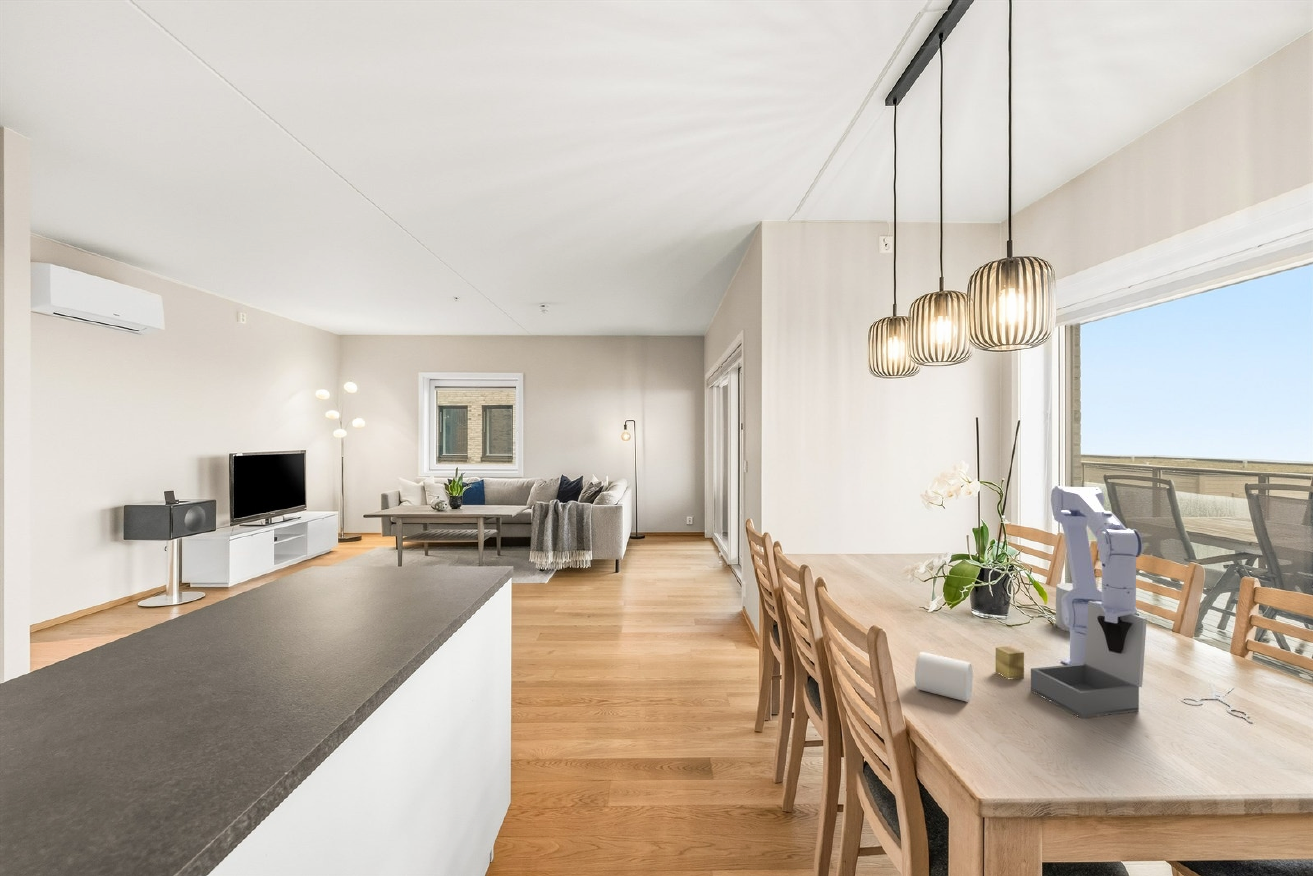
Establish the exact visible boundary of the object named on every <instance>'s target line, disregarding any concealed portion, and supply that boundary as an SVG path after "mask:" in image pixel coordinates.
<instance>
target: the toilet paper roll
mask: <svg viewBox="0 0 1313 876" xmlns="http://www.w3.org/2000/svg"><path fill="white" fill-rule="evenodd" d="M1055 589H1056V590H1055V624H1056V627H1058V628H1059V629H1061V630H1063V631H1066V632H1069V633H1070V628H1069V627H1067V626H1066V625H1065V624H1064V622H1063V619H1062V613H1061V608H1062V602H1061V599H1062V597H1063V595H1064V594H1065V593H1067V592H1069V591H1070V590H1072V589H1073V585H1072V582H1062V583H1057V584H1056V588H1055ZM1097 589H1098V590H1099V591H1101V592H1102V587H1098V586H1097Z"/></svg>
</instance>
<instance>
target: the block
mask: <svg viewBox="0 0 1313 876" xmlns="http://www.w3.org/2000/svg"><path fill="white" fill-rule="evenodd" d="M996 672H997V673H996ZM995 673H996V674H998V673H1000V674H1002V675H1003V676H1004V678H1005V677H1006V678H1005V679H1007V678H1020V679H1025V652H1024V651H1022V650H1020V649H1017V648H1015V647H1013V646H1012V645H1011V646H1010V645H1006V646H995ZM1003 676H1002V677H1003Z"/></svg>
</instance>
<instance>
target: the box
mask: <svg viewBox="0 0 1313 876" xmlns="http://www.w3.org/2000/svg"><path fill="white" fill-rule="evenodd" d="M1031 691H1033V692H1035V693H1037V694H1038V696H1039V695H1040V696H1039V697H1041V696H1043V697H1045V698H1046V699H1047V700H1046V699H1045V700H1046V701H1048V700H1051V701H1052V702H1053V703H1052V702H1051V703H1052V704H1054V703H1055V704H1056V705H1055V704H1054V705H1055V706H1057V705H1059V706H1061V707H1062V709H1063V708H1064V709H1063V710H1065V711H1067V710H1068V711H1070V712H1071V713H1070V712H1069V713H1070V714H1072V713H1073V714H1072V715H1074V714H1076V715H1078V716H1079V717H1078V716H1077V717H1078V718H1080V719H1084V718H1083V717H1087V718H1092V717H1091V716H1095V717H1098V716H1097V715H1104V716H1107V715H1106V714H1112V715H1119V714H1118V713H1121V714H1126V713H1128V712H1129V713H1135V711H1138V712H1140V705H1139V704H1140V703H1139V702H1140V687H1138V686H1135V685H1133V684H1131V683H1129V682H1126V681H1124V680H1122V679H1119V678H1117V677H1115V676H1112V675H1110V674H1108V673H1105V672H1103V671H1101V670H1099V669H1096V668H1094V667H1092V666H1089V665H1087V664H1085V663H1083V664H1073V665H1067V664H1065V665H1063V664H1062V665H1054V666H1046V667H1045V666H1043V667H1042V666H1041V667H1033V668H1030V692H1031ZM1033 692H1032V693H1033ZM1035 693H1034V694H1035ZM1037 694H1036V695H1037ZM1059 706H1058V707H1059ZM1061 707H1060V708H1061ZM1068 711H1067V712H1068ZM1116 713H1117V714H1116ZM1129 713H1128V714H1129ZM1076 715H1075V716H1076Z"/></svg>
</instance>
